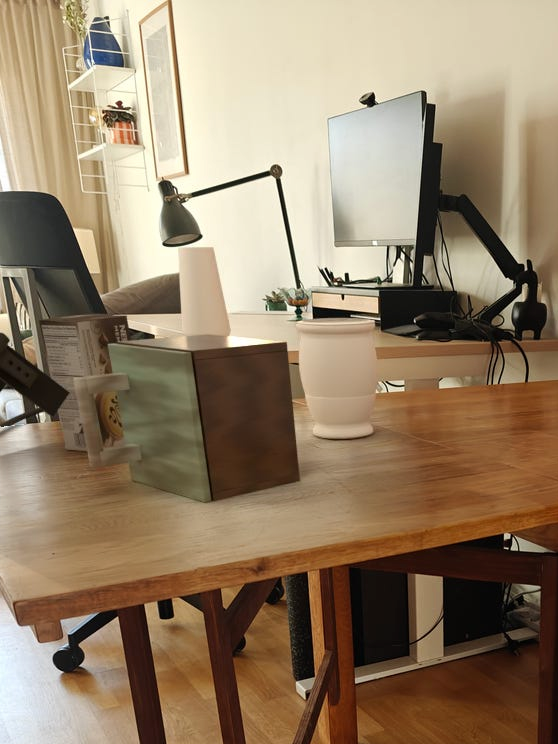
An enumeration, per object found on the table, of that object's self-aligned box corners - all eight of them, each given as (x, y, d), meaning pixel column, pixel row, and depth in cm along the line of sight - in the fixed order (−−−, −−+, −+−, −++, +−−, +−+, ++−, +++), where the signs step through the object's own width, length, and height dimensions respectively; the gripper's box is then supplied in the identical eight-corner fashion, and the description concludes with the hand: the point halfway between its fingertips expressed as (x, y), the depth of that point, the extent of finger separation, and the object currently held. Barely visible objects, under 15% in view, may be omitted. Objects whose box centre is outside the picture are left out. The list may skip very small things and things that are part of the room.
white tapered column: (194, 427, 126) (168, 247, 116) (196, 419, 132) (172, 247, 122) (241, 425, 128) (220, 247, 118) (241, 417, 134) (221, 247, 124)
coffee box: (111, 436, 120) (89, 313, 113) (150, 439, 118) (129, 314, 111) (63, 450, 112) (35, 318, 106) (103, 453, 110) (77, 319, 104)
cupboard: (214, 502, 88) (193, 350, 82) (140, 479, 97) (116, 341, 91) (300, 482, 96) (287, 341, 90) (224, 463, 105) (207, 334, 99)
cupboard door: (157, 514, 84) (131, 358, 78) (85, 489, 93) (56, 348, 87) (211, 501, 88) (191, 352, 82) (137, 479, 97) (114, 343, 91)
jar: (396, 431, 122) (391, 319, 116) (347, 444, 114) (339, 324, 108) (339, 424, 127) (332, 316, 121) (289, 436, 119) (278, 321, 113)
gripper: (-276, 260, 74) (-43, 414, 90) (-198, 259, 59) (65, 445, 75) (-222, 193, 76) (-2, 357, 92) (-132, 176, 60) (112, 376, 77)
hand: (28, 397), depth 84 cm, fingers open, 13 cm apart
